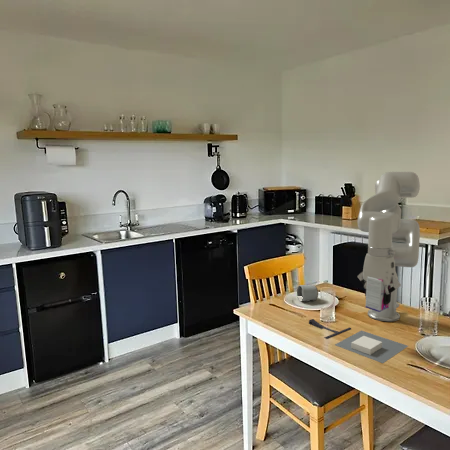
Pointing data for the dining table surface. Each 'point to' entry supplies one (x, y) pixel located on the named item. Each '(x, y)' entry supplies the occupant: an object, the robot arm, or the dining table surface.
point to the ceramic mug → (307, 292)
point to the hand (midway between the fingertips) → (377, 300)
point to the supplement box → (375, 295)
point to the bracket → (327, 328)
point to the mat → (380, 355)
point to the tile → (366, 345)
